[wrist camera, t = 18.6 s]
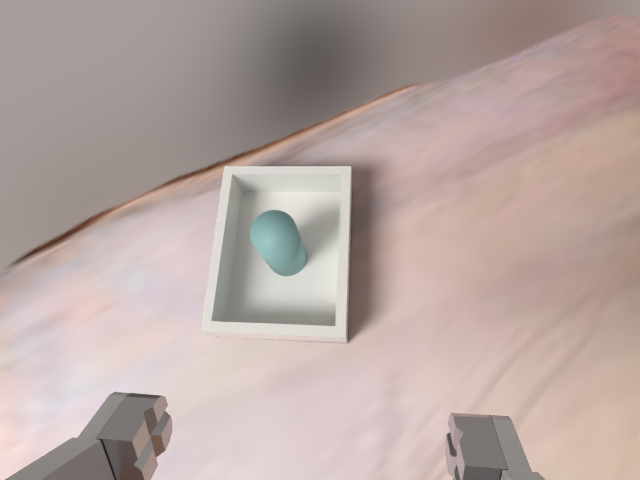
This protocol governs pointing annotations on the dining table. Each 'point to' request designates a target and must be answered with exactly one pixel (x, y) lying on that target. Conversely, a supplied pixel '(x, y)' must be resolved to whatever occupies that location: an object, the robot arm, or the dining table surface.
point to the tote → (256, 275)
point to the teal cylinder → (279, 242)
